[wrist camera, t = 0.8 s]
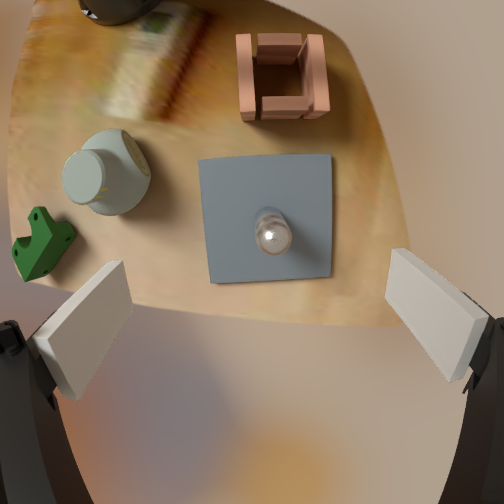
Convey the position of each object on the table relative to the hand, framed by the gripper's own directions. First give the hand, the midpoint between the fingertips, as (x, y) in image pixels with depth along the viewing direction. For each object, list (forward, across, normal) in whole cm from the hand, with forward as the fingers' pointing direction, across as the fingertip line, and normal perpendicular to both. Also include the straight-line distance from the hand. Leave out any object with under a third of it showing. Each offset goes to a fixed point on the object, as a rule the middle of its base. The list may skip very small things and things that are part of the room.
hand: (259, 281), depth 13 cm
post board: (+24, +2, -3) cm, 24 cm away
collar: (+24, +4, +14) cm, 28 cm away
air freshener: (+24, -17, +5) cm, 30 cm away
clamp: (+24, -32, -3) cm, 40 cm away
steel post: (+22, +2, -3) cm, 23 cm away
